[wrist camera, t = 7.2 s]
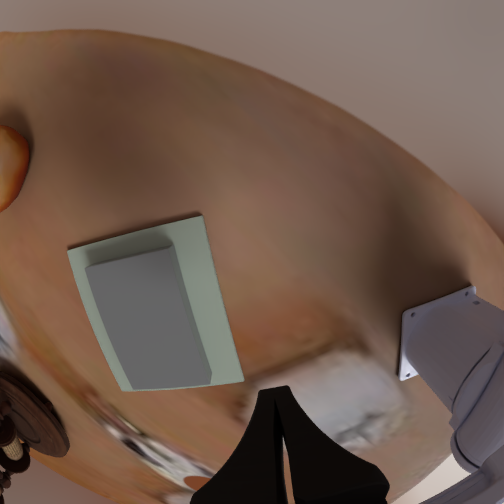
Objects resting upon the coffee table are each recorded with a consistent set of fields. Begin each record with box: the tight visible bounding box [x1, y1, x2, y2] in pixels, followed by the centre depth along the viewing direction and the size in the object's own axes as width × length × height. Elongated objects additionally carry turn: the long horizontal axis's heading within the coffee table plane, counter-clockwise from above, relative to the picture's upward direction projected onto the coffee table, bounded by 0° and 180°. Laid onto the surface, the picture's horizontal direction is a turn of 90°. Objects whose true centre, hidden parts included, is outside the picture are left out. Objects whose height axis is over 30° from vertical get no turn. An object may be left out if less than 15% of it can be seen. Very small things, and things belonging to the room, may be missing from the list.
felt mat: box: [67, 215, 244, 391], centre depth 21 cm, size 12×14×1 cm
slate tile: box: [84, 244, 212, 390], centre depth 20 cm, size 2×11×7 cm
